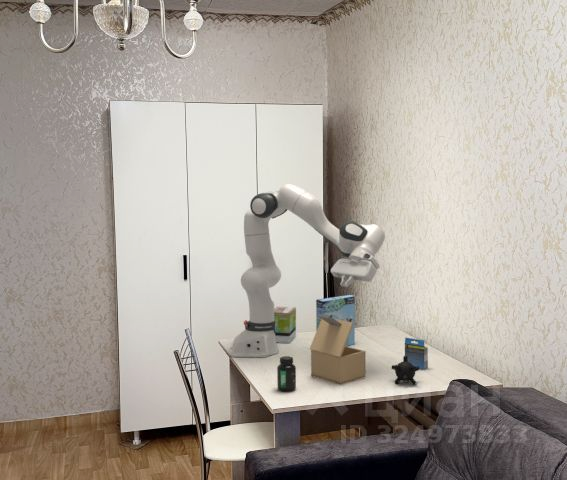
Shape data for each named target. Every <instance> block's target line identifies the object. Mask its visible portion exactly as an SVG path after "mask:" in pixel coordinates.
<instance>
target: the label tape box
mask: <svg viewBox="0 0 567 480" xmlns="http://www.w3.org/2000/svg"><path fill="white" fill-rule="evenodd" d="M414 342H415V343H414ZM428 351H429V349H428V346H425V340H424V339H418V338H413V337H412V338H411V337H405V338H404V356H405V355H406V356H407V357H408V362H410V363H411V364H413V366H416V367H417V366H418V367H419V368H420V369H421V370H426V369H428V368H429V359H428V358H429V356H428V354H429V352H428ZM420 369H419V370H420Z"/></svg>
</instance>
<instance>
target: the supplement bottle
mask: <svg viewBox="0 0 567 480" xmlns="http://www.w3.org/2000/svg"><path fill="white" fill-rule="evenodd" d="M276 371H277V377H276V379H277V390H278V391H279V392H283V393H289V392H294V391H296V389H297V369H296V365H295V364H294V357H293V356H290V355H284V356H281V357H279V364H278V365H277V367H276Z"/></svg>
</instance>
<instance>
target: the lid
mask: <svg viewBox="0 0 567 480" xmlns="http://www.w3.org/2000/svg"><path fill="white" fill-rule="evenodd" d="M317 316H318V317H320V318H321V322H320V324H319V327H318V329H317V332H315V334H314V337H313V340H312V341H311V344H310V346H309V350H310V351H311V350H314V351H318V352H321V353H325V354H329V355H333V356H337V357H341V355H342V353H343V350H344V348H345V345H346V343H347V340H348V338H349V335H350V333H351V330H352V328H353V325H354V323H353V322H348V321H343V320H338V319H334V318H332V317H330V316H328V315H323V314H318V315H317Z"/></svg>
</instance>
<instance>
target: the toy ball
mask: <svg viewBox="0 0 567 480" xmlns="http://www.w3.org/2000/svg"><path fill="white" fill-rule="evenodd" d="M402 358H403V359H402V360H403V361H400V362H398V364H393V365H391V370H393V371H394V373H395V377H396V379H394V383H395V385H398V384H399V383H400V382H401V381H402V382H410V383H411V385H416V383H417V381H416V380H415V378H414V377H415V376H416V372H418V371H420V368H419V367H418V366H417V367H416V366H413V364H411V363H410V362H408V357H407V356H406V355H405V354H404V355H403V357H402Z"/></svg>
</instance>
